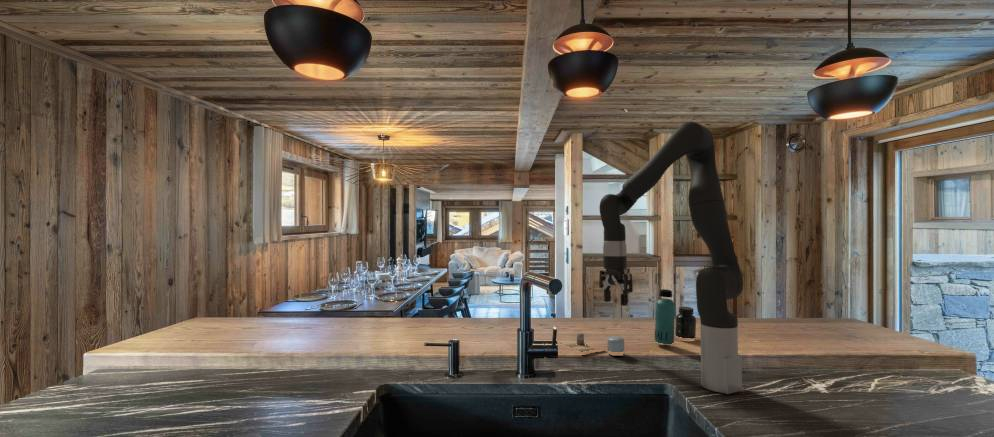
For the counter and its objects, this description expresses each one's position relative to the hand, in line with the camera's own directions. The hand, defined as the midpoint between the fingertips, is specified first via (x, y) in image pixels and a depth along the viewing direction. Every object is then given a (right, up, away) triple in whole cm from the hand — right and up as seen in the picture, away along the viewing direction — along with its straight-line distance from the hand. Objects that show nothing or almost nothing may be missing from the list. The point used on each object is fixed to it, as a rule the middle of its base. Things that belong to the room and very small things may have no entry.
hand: (615, 303), depth 147 cm
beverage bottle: (+19, -17, +8) cm, 26 cm away
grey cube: (0, -17, -1) cm, 17 cm away
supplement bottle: (+30, -17, +15) cm, 37 cm away
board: (-10, -17, +5) cm, 20 cm away
